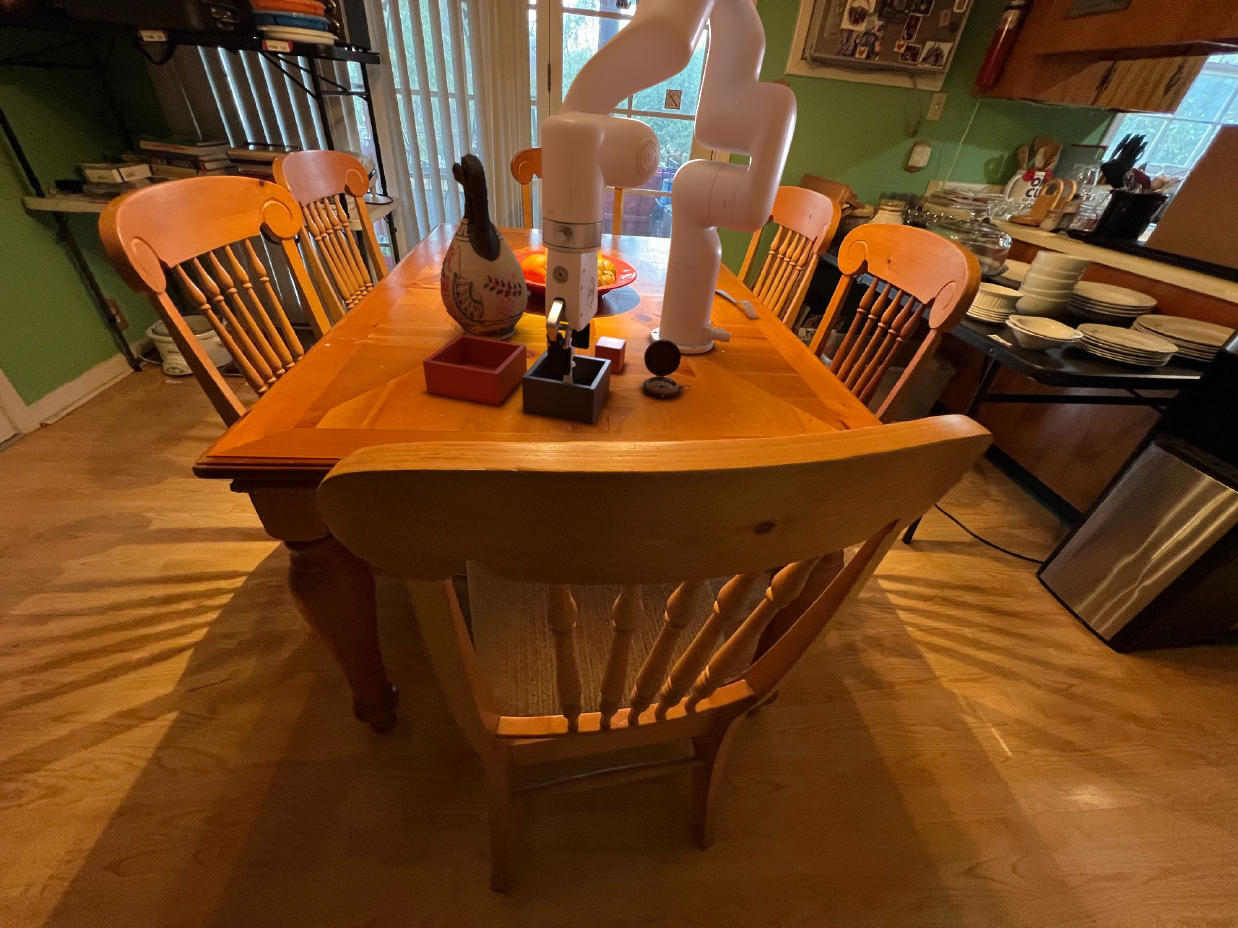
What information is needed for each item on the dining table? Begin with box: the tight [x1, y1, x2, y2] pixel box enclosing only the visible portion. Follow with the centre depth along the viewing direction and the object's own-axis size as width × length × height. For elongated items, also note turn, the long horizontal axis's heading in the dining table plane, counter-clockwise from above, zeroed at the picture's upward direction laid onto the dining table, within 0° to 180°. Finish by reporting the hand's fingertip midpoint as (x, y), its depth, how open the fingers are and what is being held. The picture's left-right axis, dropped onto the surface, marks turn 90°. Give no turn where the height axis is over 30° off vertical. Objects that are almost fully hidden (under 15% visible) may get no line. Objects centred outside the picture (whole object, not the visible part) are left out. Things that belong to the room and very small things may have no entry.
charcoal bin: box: [521, 349, 612, 425], centre depth 76 cm, size 11×11×6 cm
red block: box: [594, 335, 627, 374], centre depth 88 cm, size 4×4×4 cm
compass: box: [642, 339, 692, 399], centre depth 82 cm, size 8×8×7 cm
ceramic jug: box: [439, 153, 529, 341], centre depth 88 cm, size 17×15×30 cm
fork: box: [715, 289, 758, 319], centre depth 126 cm, size 3×21×3 cm, turn 15°
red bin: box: [422, 333, 528, 406], centre depth 79 cm, size 12×12×5 cm
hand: (569, 359), depth 74 cm, fingers open, 9 cm apart
